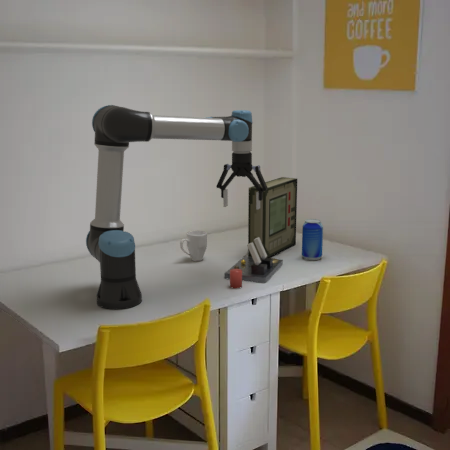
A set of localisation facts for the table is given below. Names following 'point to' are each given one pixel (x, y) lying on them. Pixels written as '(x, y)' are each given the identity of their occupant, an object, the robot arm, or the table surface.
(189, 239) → the mug
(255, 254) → the breaker
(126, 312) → the table surface
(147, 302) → the table surface
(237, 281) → the red rounded cylinder
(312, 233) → the beer can
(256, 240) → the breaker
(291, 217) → the control panel
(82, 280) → the table surface
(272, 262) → the panel
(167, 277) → the table surface
